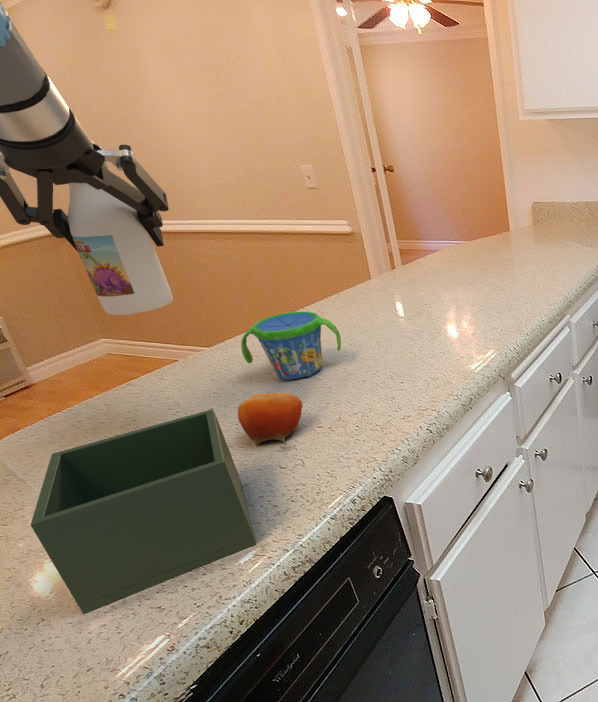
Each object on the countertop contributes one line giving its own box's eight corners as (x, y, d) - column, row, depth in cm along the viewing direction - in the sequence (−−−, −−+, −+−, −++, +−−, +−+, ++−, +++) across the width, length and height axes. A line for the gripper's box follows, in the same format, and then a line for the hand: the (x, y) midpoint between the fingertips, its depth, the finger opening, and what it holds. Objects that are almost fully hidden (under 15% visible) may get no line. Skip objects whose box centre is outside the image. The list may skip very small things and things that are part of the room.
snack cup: (352, 355, 109) (339, 306, 105) (340, 378, 100) (326, 325, 96) (264, 366, 106) (248, 315, 102) (243, 390, 97) (224, 336, 93)
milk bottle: (160, 295, 83) (105, 154, 75) (185, 302, 80) (130, 155, 72) (95, 311, 77) (28, 160, 69) (119, 320, 74) (51, 161, 66)
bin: (94, 533, 65) (51, 453, 60) (241, 482, 73) (213, 408, 68) (83, 614, 54) (30, 524, 50) (256, 544, 62) (224, 461, 58)
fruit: (230, 452, 77) (225, 395, 77) (254, 451, 84) (249, 398, 85) (295, 441, 78) (289, 385, 79) (313, 441, 86) (307, 390, 87)
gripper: (143, 88, 64) (205, 212, 83) (-117, 92, 55) (22, 230, 74) (151, 139, 62) (214, 253, 81) (-117, 152, 53) (26, 277, 72)
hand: (122, 242), depth 78 cm, fingers closed on milk bottle, 8 cm apart
